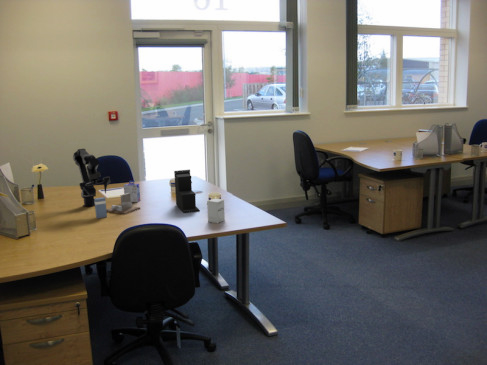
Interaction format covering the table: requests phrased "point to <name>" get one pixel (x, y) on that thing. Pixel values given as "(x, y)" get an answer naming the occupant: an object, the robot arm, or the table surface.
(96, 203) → the book
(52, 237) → the table surface
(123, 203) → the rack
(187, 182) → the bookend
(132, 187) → the ink cartridge box
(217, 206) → the supplement box
